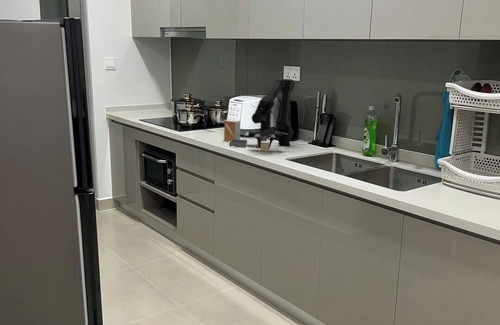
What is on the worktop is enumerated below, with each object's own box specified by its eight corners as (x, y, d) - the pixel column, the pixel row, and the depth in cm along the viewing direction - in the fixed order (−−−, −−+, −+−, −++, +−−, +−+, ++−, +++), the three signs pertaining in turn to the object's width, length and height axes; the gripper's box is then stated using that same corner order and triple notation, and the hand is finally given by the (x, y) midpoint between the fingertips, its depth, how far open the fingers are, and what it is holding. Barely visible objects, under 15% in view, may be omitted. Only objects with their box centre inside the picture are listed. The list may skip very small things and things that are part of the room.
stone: (268, 150, 277) (269, 142, 276) (268, 151, 272) (268, 144, 271) (261, 149, 277) (261, 142, 276) (260, 151, 273) (260, 143, 272)
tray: (246, 143, 294) (246, 139, 293) (245, 147, 283) (245, 143, 282) (231, 143, 295) (231, 139, 294) (229, 146, 283) (229, 142, 283)
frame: (266, 144, 294) (266, 132, 292) (265, 148, 281) (265, 135, 279) (258, 144, 294) (258, 131, 292) (256, 148, 281) (257, 135, 280)
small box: (223, 141, 301) (224, 120, 298) (229, 139, 306) (229, 119, 303) (234, 142, 297) (235, 121, 294) (240, 141, 302) (240, 120, 300)
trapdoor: (266, 138, 291) (267, 132, 290) (266, 141, 282) (266, 135, 281) (246, 138, 292) (246, 131, 291) (245, 140, 283) (245, 134, 282)
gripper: (247, 123, 264) (247, 150, 267) (281, 124, 262) (280, 152, 266) (249, 120, 275) (249, 146, 278) (282, 121, 273) (281, 148, 277)
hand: (264, 148), depth 275 cm, fingers closed on stone, 5 cm apart
